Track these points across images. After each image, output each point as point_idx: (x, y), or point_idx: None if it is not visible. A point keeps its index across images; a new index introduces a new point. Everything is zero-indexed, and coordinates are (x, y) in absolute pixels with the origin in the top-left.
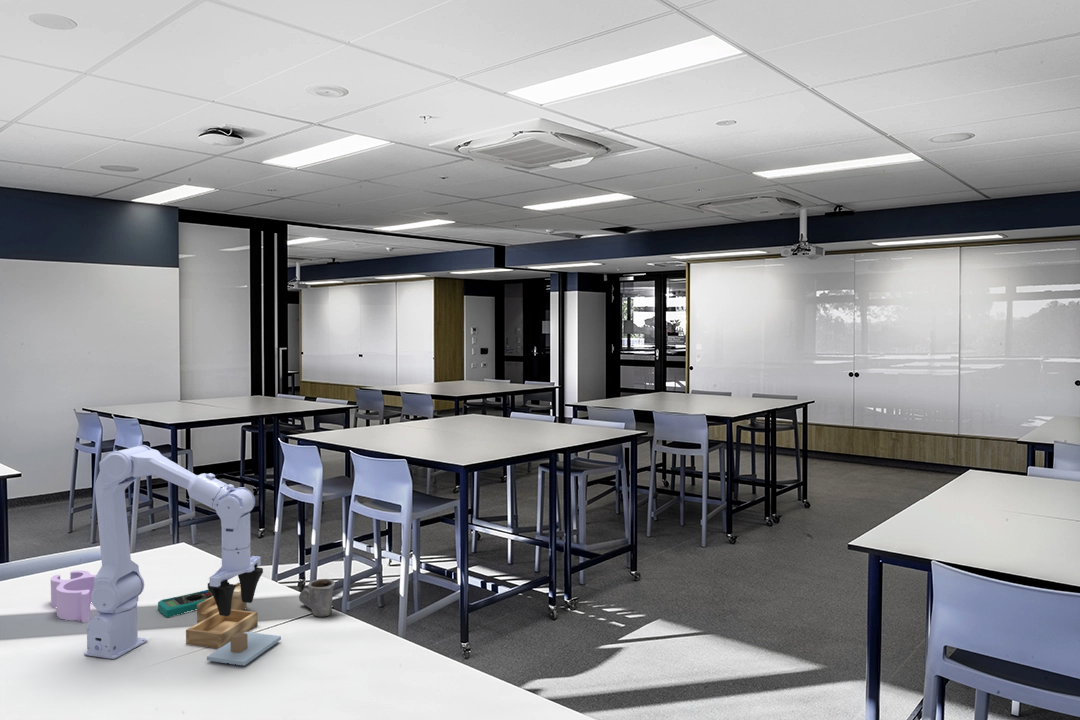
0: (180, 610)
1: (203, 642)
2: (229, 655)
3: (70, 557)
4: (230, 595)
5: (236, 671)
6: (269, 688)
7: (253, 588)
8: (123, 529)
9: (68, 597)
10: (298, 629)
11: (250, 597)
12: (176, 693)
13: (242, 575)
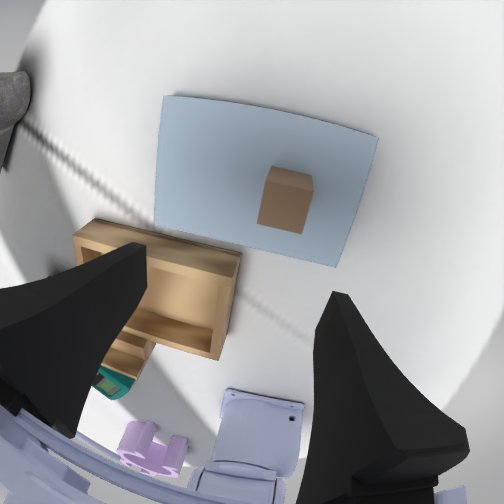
0: (113, 372)
1: (230, 306)
2: (331, 204)
3: (80, 437)
4: (391, 386)
5: (390, 154)
6: (474, 42)
7: (92, 278)
8: None
9: (179, 469)
10: (89, 95)
11: (130, 262)
12: (475, 261)
13: (68, 398)
